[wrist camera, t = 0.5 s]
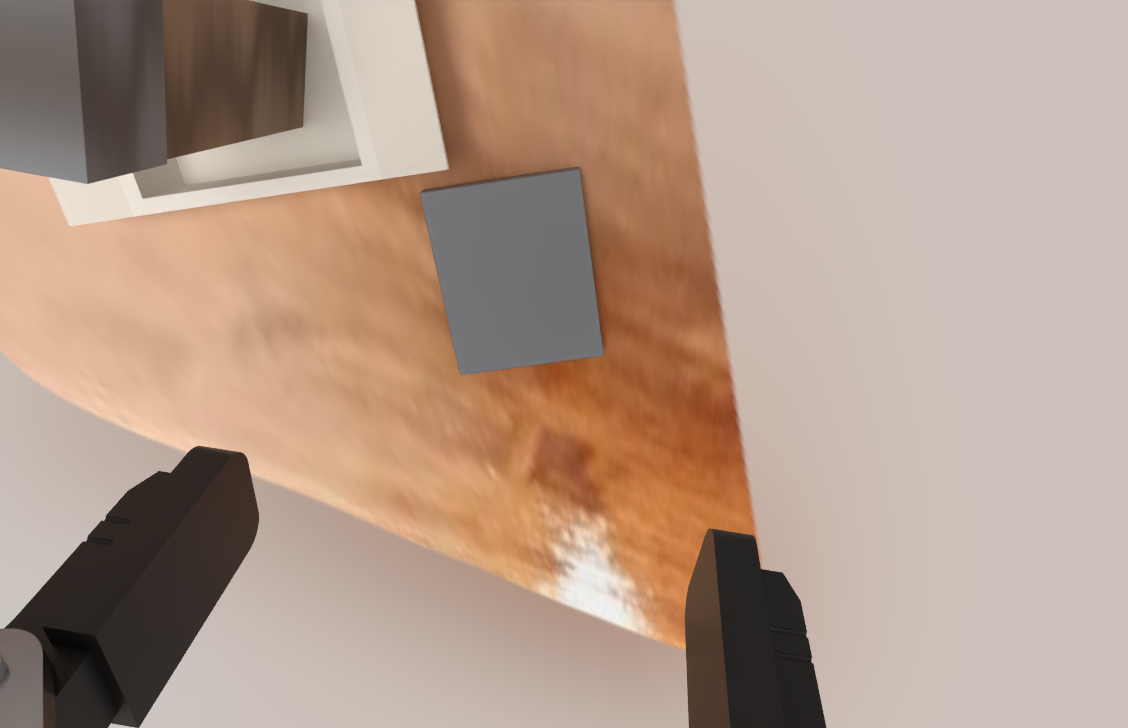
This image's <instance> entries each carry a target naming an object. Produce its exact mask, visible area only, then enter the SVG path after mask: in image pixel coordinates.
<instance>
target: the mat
mask: <svg viewBox="0 0 1128 728" xmlns="http://www.w3.org/2000/svg"><path fill="white" fill-rule="evenodd" d="M420 196H421V201H422V205H423V210H424V214H425V219H426V224H427V228H428V233H429V237H430V242H431V246H432V251H433V255H434V260H435V264H436V269H437V273H438V278H439V282H440V287H441V291H442V296H443V300H444V305H445V309H446V314H447V318H448V323H449V327H450V332H451V336H452V341H453V345H454V350H455V354H456V359H457V363H458V368H459V373H460V375H465V374H473V373H480V372H487V371H494V370H502V369H509V368H516V367H524V366H531V365H538V364H546V363H553V362H560V361H567V360H575V359H582V358H589V357H597V356H604V354H603V346H602V339H601V331H600V323H599V316H598V308H597V300H596V292H595V285H594V277H593V269H592V262H591V254H590V246H589V238H588V231H587V223H586V215H585V208H584V200H583V192H582V185H581V177H580V169H579V167H574V168H568V169H561V170H554V171H547V172H541V173H534V174H527V175H521V176H514V177H507V178H500V179H494V180H487V181H480V182H474V183H467V184H460V185H453V186H447V187H440V188H433V189H426V190H423V191H422V192H421V193H420Z"/></svg>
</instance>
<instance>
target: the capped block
mask: <svg viewBox="0 0 1128 728" xmlns="http://www.w3.org/2000/svg"><path fill="white" fill-rule="evenodd" d="M307 23H308V13H304V12H299V11H295V10H290V9H286V8H281V7H276V6H272V5H267V4H263V3H258V2H254V1H249V0H0V168H2V169H8V170H13V171H19V172H24V173H30V174H35V175H40V176H46V177H51V178H57V179H62V180H68V181H73V182H79V183H84V184H90V183H94V182H98V181H102V180H106V179H110V178H114V177H118V176H122V175H126V174H130V173H134V172H138V171H142V170H146V169H150V168H154V167H158V166H162V165H166V164H167V159H171V158H176V157H180V156H184V155H188V154H192V153H197V152H201V151H205V150H209V149H213V148H218V147H222V146H226V145H230V144H235V143H239V142H243V141H247V140H251V139H256V138H260V137H264V136H268V135H272V134H277V133H281V132H285V131H289V130H293V129H298V128H302V127H303V117H304V93H305V70H306V46H307Z"/></svg>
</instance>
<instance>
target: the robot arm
mask: <svg viewBox="0 0 1128 728" xmlns="http://www.w3.org/2000/svg"><path fill="white" fill-rule="evenodd" d="M258 524H259V512H258V507H257V502H256V497H255V493H254V488H253V483H252V478H251V473H250V469H249V464H248V460H247V457H246V456H245V454H243V453H241V452H235V451H229V450H222V449H216V448H210V447H203V446H197V447H195V448H193V449H191V450H190V451H189V452H188V453H187V454H186V456H185V457H184V458H183V459H182V460H181V462H180V463H179V464H178V465H177V466H176V467H175V469H174V470H173V471H172V472H171V473H168V472H161V471H158V472H157V473H155V474H154V475H152V476H151V477H149V478H147V479H146V480H144V481H143V482H141V483H140V484H138V485H136V486H135V487H133V488H132V489H130V490H129V491H127V493H126V494H125V495H124V496H123V497H122V498H121V499H120V500H119V502H118V503H117V504H116V505H115V506H114V507H113V508H112V509H111V511H110V512H109V513H108V514H107V515H106V519H105V521H101V522H100V523H99V524H98V525H97V526H96V528H95V529H94V530H93V531H92V532H91V533H90V534H89V535H88V539H87V541H86V542H82V543H81V544H80V545H79V547H78V548H77V549H76V550H75V551H74V552H73V553H72V554H71V555H70V557H69V558H68V559H67V560H66V561H65V562H64V563H63V565H62V566H61V567H60V568H59V569H58V570H57V571H56V572H55V574H54V575H53V576H52V577H51V578H50V579H49V580H48V581H47V582H46V584H45V585H44V586H43V587H42V588H41V589H40V590H39V592H38V593H37V594H36V595H35V596H34V597H33V598H32V599H31V601H30V602H29V603H28V604H27V605H26V606H25V607H24V608H23V609H22V611H21V612H20V613H19V614H18V615H17V616H16V617H15V619H13V621H11V622H10V623H9V624H8V625H7V626H6V627H5V628H4V629H0V728H108V727H109V725H110V724H111V723H113V724H119V725H125V726H130V727H136V728H139V727H140V725H141V723H142V722H143V720H144V718H145V717H146V715H147V714H148V712H149V711H150V709H151V707H152V706H153V704H154V702H155V701H156V699H157V698H158V696H159V695H160V693H161V691H162V690H163V688H164V686H165V685H166V683H167V682H168V680H169V679H170V677H171V675H172V674H173V672H174V671H175V669H176V667H177V666H178V664H179V663H180V661H181V659H182V658H183V656H184V654H185V653H186V651H187V650H188V648H189V646H190V645H191V643H192V642H193V640H194V638H195V637H196V635H197V634H198V632H199V630H200V629H201V627H202V626H203V624H204V622H205V621H206V619H207V617H208V616H209V614H210V613H211V611H212V610H213V608H214V606H215V605H216V603H217V601H218V600H219V598H220V597H221V595H222V593H223V592H224V590H225V588H226V587H227V585H228V584H229V582H230V581H231V579H232V577H233V575H234V574H235V573H236V571H237V569H238V568H239V566H240V564H241V563H242V561H243V560H244V558H245V556H246V555H247V553H248V552H249V550H250V548H251V546H252V544H253V542H254V540H255V536H256V533H257V529H258ZM806 633H807V630H806V625H805V620H804V616H803V611H802V605H801V601H800V599H799V598H798V596H797V595H796V593H795V591H794V590H793V589H792V587H791V585H790V584H789V582H788V581H787V579H786V577H785V576H784V574H783V573H781V572H775V571H769V570H763V569H761V568H760V562H759V555H758V549H757V543H756V539H755V537H754V536H753V535H748V534H742V533H735V532H729V531H723V530H717V529H708V531H707V532H706V535H705V538H704V541H703V544H702V547H701V550H700V553H699V556H698V559H697V562H696V565H695V568H694V571H693V574H692V577H691V580H690V584H689V588H688V592H687V599H686V608H685V635H686V661H687V687H688V712H689V713H688V714H689V728H826V724H825V719H824V714H823V709H822V704H821V699H820V694H819V690H818V684H817V680H816V675H815V670H814V665H813V664H812V663H811V658H812V655H811V650H810V645H809V640H808V638H807V637H806Z"/></svg>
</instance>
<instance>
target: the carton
mask: <svg viewBox="0 0 1128 728" xmlns="http://www.w3.org/2000/svg"><path fill="white" fill-rule="evenodd" d="M249 1H254V2H258V3H263V4H267V5H272V6H276V7H281V8H286V9H290V10H295V11H299V12H304V13H308V23H307V46H306V70H305V93H304V117H303V127H302V128H298V129H293V130H289V131H285V132H281V133H277V134H272V135H268V136H264V137H260V138H256V139H251V140H247V141H243V142H239V143H235V144H230V145H226V146H222V147H218V148H213V149H209V150H205V151H201V152H197V153H192V154H188V155H184V156H180V157H176V158H171V159H167V164H166V165H162V166H158V167H154V168H150V169H146V170H142V171H138V172H134V173H130V174H126V175H122V176H118V177H114V178H110V179H106V180H102V181H98V182H94V183H90V184H84V183H79V182H73V181H68V180H62V179H57V178H51V177H49V180H50V182H51V184H52V187H53V189H54V191H55V194H56V196H57V198H58V201H59V203H60V205H61V208H62V210H63V212H64V215H65V217H66V219H67V222H68V224H69V226H75V225H82V224H88V223H95V222H102V221H108V220H115V219H122V218H128V217H135V216H142V215H148V214H155V213H162V212H168V211H175V210H182V209H188V208H195V207H202V206H208V205H215V204H222V203H228V202H235V201H242V200H248V199H255V198H262V197H268V196H275V195H282V194H288V193H295V192H302V191H308V190H315V189H322V188H328V187H335V186H342V185H348V184H355V183H362V182H368V181H375V180H382V179H388V178H395V177H402V176H408V175H415V174H422V173H429V172H435V171H442V170H448V169H449V164H448V159H447V154H446V149H445V144H444V139H443V134H442V129H441V124H440V119H439V115H438V110H437V105H436V100H435V95H434V90H433V85H432V80H431V75H430V70H429V65H428V60H427V55H426V50H425V45H424V40H423V35H422V30H421V25H420V20H419V16H418V11H417V6H416V1H415V0H249Z"/></svg>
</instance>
